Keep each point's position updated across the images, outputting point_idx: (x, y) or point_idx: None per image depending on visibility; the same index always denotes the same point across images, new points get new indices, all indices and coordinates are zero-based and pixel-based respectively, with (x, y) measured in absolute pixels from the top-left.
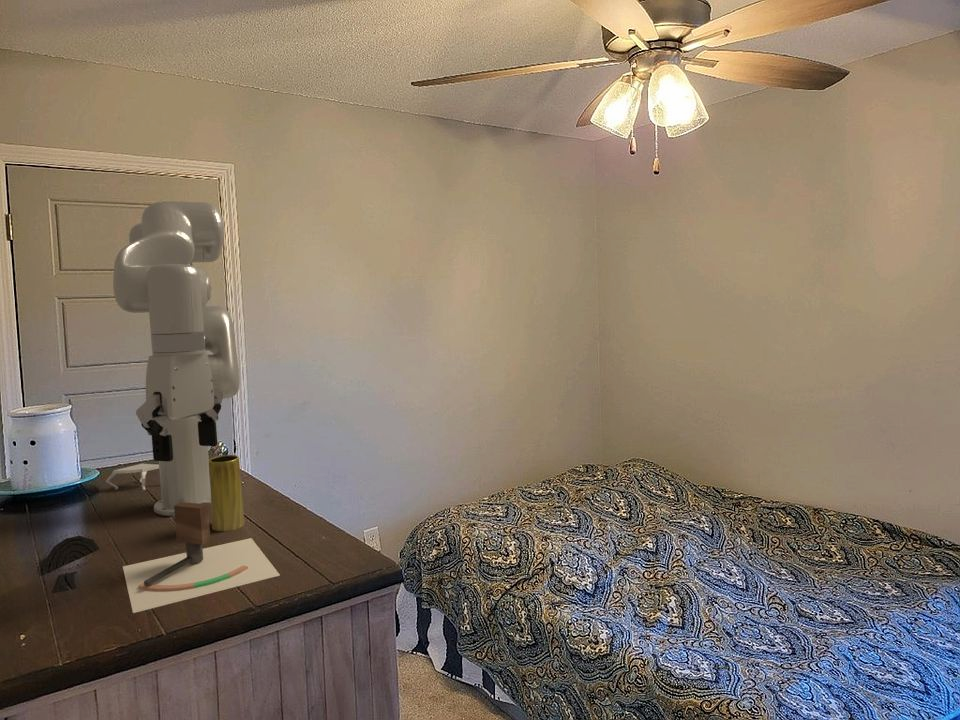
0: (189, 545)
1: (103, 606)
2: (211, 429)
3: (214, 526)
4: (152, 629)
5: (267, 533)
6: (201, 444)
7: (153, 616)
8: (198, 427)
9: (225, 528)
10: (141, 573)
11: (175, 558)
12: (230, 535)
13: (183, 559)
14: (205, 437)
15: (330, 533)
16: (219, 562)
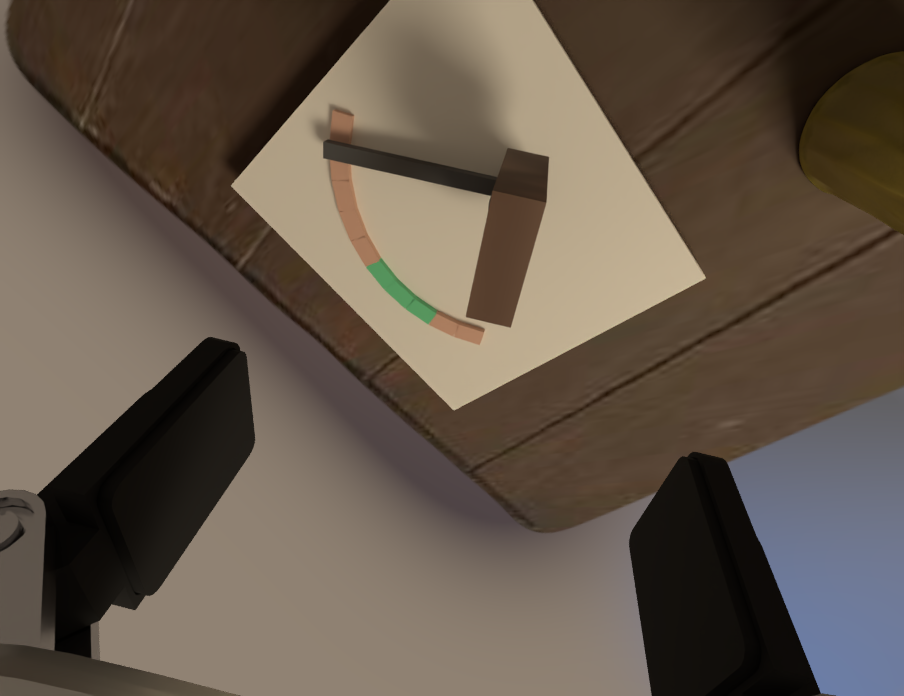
0: (489, 204)
1: (282, 22)
2: (652, 662)
3: (854, 99)
4: (241, 233)
5: (816, 273)
6: (673, 472)
7: None
8: (730, 604)
9: (820, 156)
10: (425, 45)
11: (548, 97)
12: None
13: (475, 178)
14: (671, 551)
15: (756, 432)
16: None
